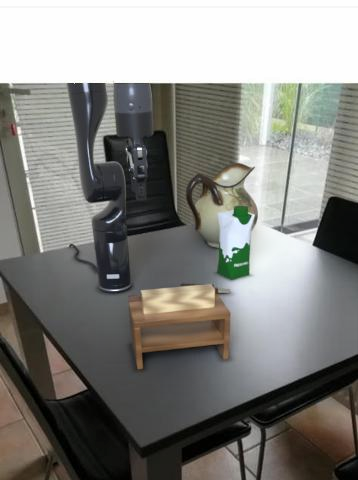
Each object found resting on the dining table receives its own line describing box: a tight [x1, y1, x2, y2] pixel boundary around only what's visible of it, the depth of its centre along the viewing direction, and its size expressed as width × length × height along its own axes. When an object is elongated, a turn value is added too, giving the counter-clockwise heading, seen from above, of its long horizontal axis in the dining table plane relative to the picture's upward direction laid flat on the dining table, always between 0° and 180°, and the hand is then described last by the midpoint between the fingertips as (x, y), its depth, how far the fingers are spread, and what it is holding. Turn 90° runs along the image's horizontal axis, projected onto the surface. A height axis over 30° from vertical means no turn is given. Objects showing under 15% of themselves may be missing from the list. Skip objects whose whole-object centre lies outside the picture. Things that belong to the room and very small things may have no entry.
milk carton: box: [216, 206, 255, 281], centre depth 141 cm, size 9×9×20 cm
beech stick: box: [140, 283, 215, 314], centre depth 100 cm, size 15×3×4 cm, turn 101°
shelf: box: [127, 286, 231, 370], centre depth 104 cm, size 11×20×12 cm, turn 101°
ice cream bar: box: [179, 283, 232, 294], centre depth 135 cm, size 5×2×15 cm
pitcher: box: [185, 162, 259, 249], centre depth 164 cm, size 22×24×25 cm
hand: (138, 195), depth 104 cm, fingers open, 8 cm apart
